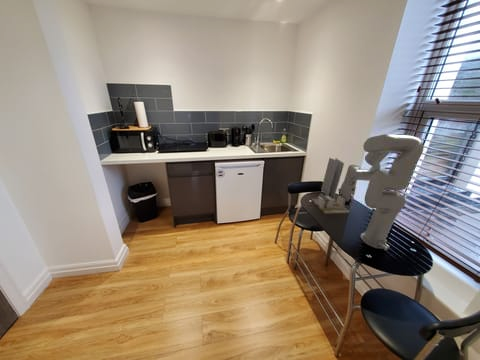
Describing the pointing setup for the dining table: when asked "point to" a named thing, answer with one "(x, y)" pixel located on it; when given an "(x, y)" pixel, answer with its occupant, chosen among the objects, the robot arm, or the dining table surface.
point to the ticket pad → (325, 201)
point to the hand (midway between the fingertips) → (343, 202)
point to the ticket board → (332, 208)
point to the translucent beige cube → (341, 200)
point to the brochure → (332, 176)
